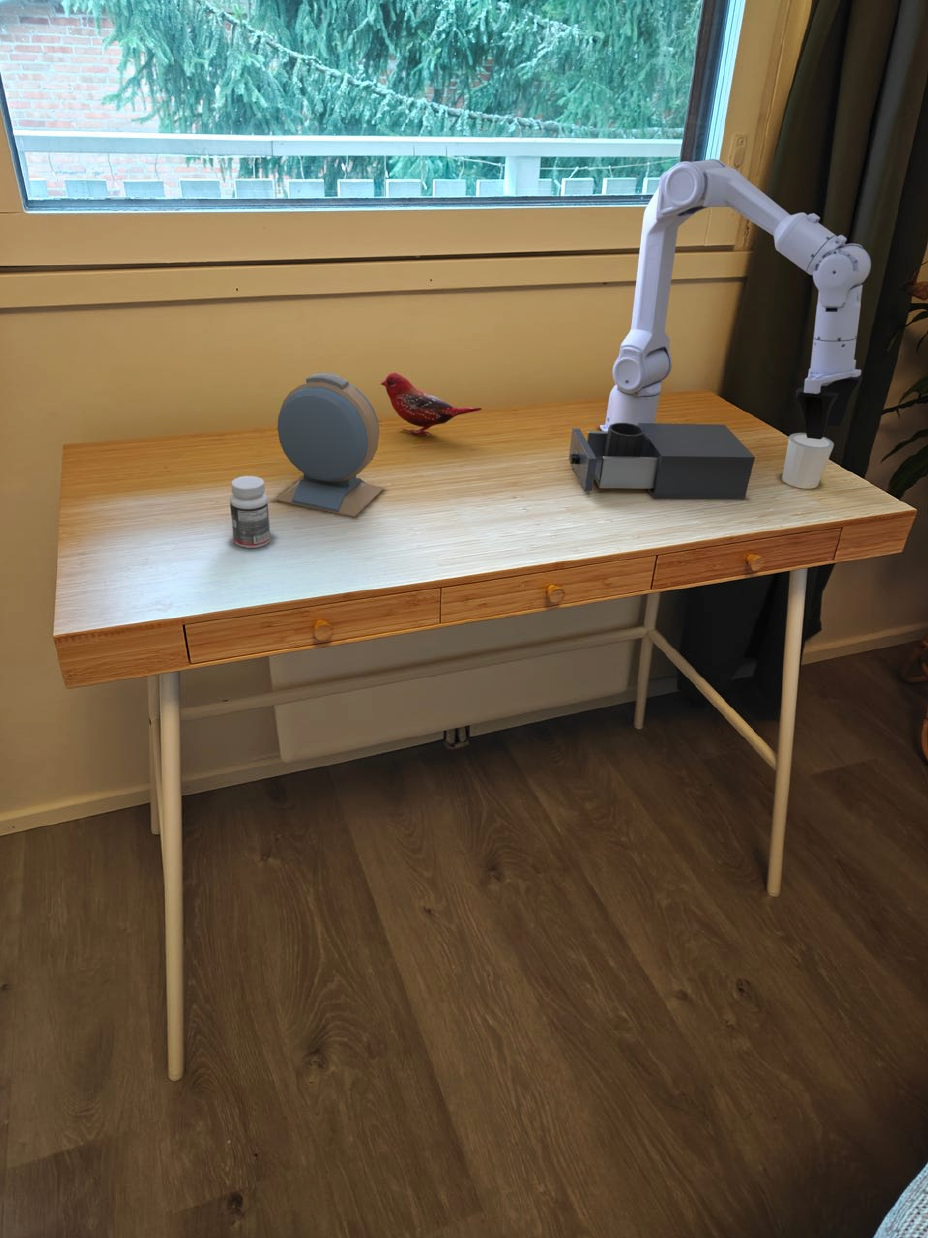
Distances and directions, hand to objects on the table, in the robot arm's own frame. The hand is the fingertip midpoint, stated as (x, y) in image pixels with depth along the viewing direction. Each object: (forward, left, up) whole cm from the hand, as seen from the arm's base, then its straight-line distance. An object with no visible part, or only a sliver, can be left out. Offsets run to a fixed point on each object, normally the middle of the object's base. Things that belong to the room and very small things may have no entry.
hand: (824, 431), depth 133 cm
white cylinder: (-5, +2, -11) cm, 12 cm away
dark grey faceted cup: (-8, -28, -9) cm, 30 cm away
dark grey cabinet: (-7, -17, -11) cm, 21 cm away
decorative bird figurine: (-27, -55, -11) cm, 62 cm away
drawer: (-8, -29, -10) cm, 31 cm away
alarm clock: (-5, -73, -11) cm, 74 cm away
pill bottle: (+8, -84, -11) cm, 85 cm away
